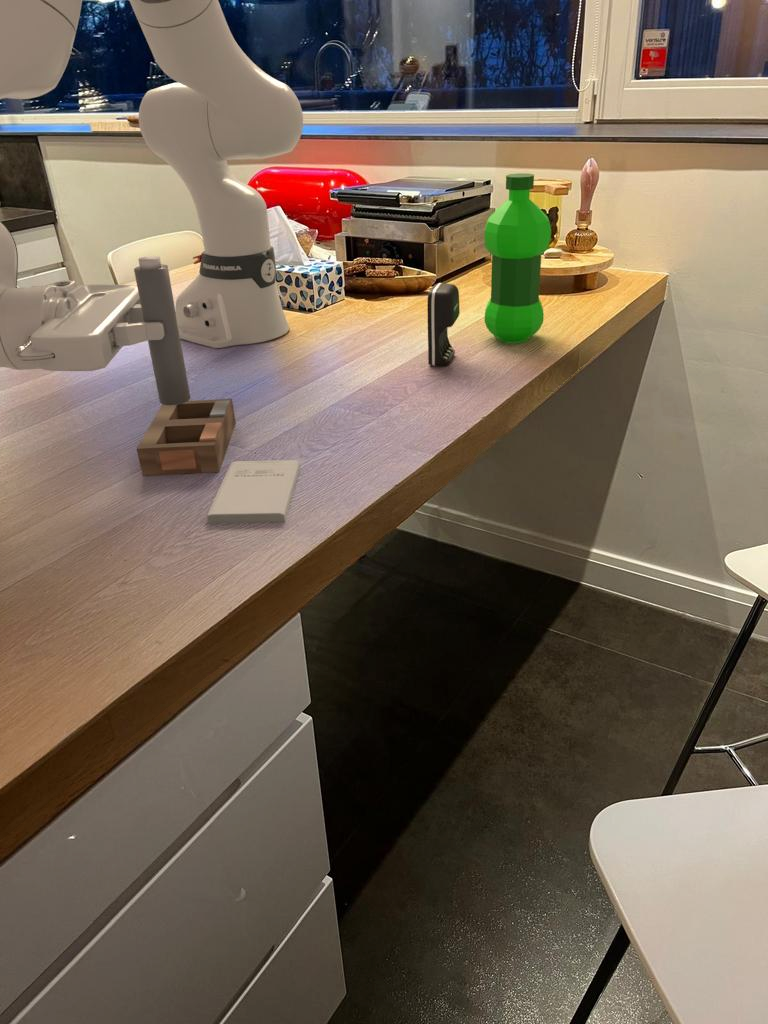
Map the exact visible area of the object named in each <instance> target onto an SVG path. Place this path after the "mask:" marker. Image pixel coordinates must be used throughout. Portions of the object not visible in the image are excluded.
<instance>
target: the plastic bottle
mask: <svg viewBox="0 0 768 1024" xmlns="http://www.w3.org/2000/svg"><path fill="white" fill-rule="evenodd" d="M534 181H535V174H533V173H527V172H526V173H522V172H521V173H520V172H518V173H509V174H506V175H505V190H509V191H508V199H507V200H506V201H505V202H504V203H503V204H502V205H500V206H499V207H498V208H497V209H496V210H495V211H494V212H493V213H492V214H491V215H490V216H489V217H488V219H487V221H486V224H485V227H484V238H483V239H484V245H485V249H486V250H487V251H488V253H489V254H490V255H491V282H490V283H491V284H490V286H491V287H490V288H491V290H490V298H489V300H488V301H487V305H486V306H485V312H484V323H485V324H484V325H485V327H486V329H487V330H488V331H489V333H490V334H492V335H493V336H494V337H495V338H497V340H498V341H500V342H502V343H507V344H517V343H518V344H519V343H524V342H526V341H528V340H529V339H530V338H531V337H533V336H534V335H535V334H537V333H538V331H539V330H540V329H541V328H542V325H543V324H544V308H543V304H542V302H541V300H540V299H541V298H540V287H541V286H540V284H541V282H540V281H541V267H542V266H541V265H542V255H543V254H544V253H545V252H546V251H547V250H548V249H549V247H550V242H551V239H552V237H551V236H552V227H551V223H550V218H549V217H548V215H547V214H546V213H545V212H544V211H543V210H542V209H541V208H540V207H539V206H538V205H537V204H536V203H535V202H534V201H532V199H531V198H530V194H531V193H530V192H531V191H530V190H532V189H534V184H535V182H534Z"/></svg>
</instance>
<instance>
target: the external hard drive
mask: <svg viewBox="0 0 768 1024" xmlns="http://www.w3.org/2000/svg"><path fill="white" fill-rule="evenodd" d="M300 469H301V464H300V460H296V459H285V460H284V459H283V460H281V459H280V460H276V459H275V460H241V461H240V460H235V461H232V462H231V463H230V464H229V466H228V468H227V471H226V473H225V475H224V478H223V479H222V482H221V483H220V486H219V488H218V490H217V493H216V494H215V497H214V499H213V501H212V503H211V506H210V509H209V510H208V512H207V515H206V519H207V523H208V524H234V523H235V524H236V523H237V524H241V523H243V524H244V523H245V524H247V523H285V522H286V521H287V517H288V513H289V509H290V506H291V503H292V499H293V495H294V491H295V487H296V484H297V480H298V477H299V472H300Z"/></svg>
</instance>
